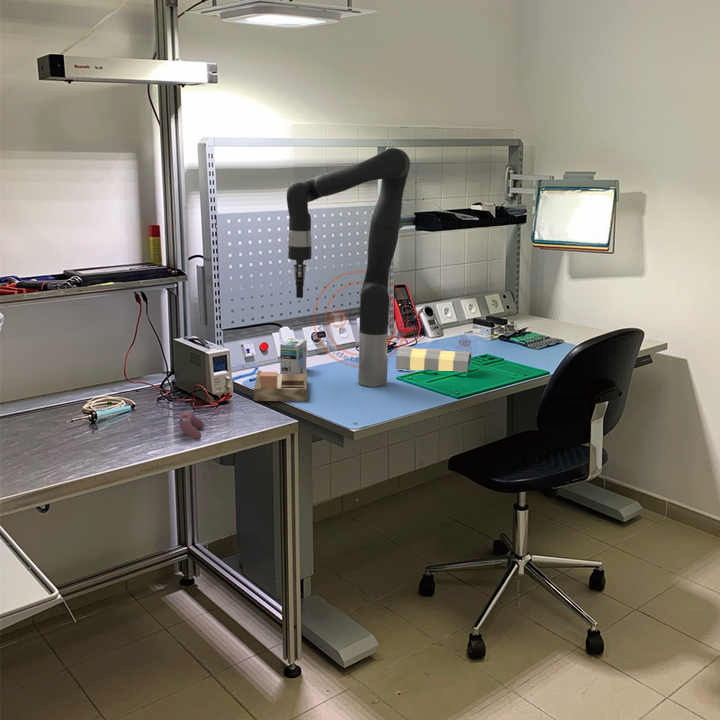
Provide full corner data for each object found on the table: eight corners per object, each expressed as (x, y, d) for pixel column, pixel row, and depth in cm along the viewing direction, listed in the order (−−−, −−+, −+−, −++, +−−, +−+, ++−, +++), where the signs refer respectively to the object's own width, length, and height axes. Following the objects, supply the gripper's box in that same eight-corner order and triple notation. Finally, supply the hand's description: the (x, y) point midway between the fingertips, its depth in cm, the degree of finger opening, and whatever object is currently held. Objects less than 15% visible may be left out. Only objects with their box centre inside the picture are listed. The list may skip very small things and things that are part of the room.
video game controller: (190, 433, 219) (178, 411, 218) (205, 425, 219) (193, 403, 217) (186, 445, 210) (173, 422, 208) (202, 438, 210) (189, 415, 208)
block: (277, 387, 250) (277, 371, 249) (276, 392, 245) (276, 376, 244) (261, 387, 250) (260, 371, 248) (260, 391, 245) (260, 375, 243)
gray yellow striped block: (470, 371, 286) (472, 335, 283) (467, 378, 276) (469, 341, 273) (401, 365, 292) (402, 329, 289) (395, 372, 282) (396, 335, 279)
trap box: (306, 381, 267) (306, 370, 266) (306, 400, 245) (307, 389, 244) (257, 381, 265) (257, 370, 265) (253, 400, 244) (253, 389, 243)
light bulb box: (298, 376, 272) (298, 345, 270) (279, 375, 273) (279, 344, 271) (307, 369, 282) (307, 339, 280) (288, 367, 284) (288, 337, 281)
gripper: (311, 246, 255) (311, 301, 260) (311, 242, 268) (310, 294, 272) (287, 246, 255) (287, 300, 259) (288, 242, 268) (288, 294, 272)
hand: (299, 297), depth 266 cm, fingers closed
